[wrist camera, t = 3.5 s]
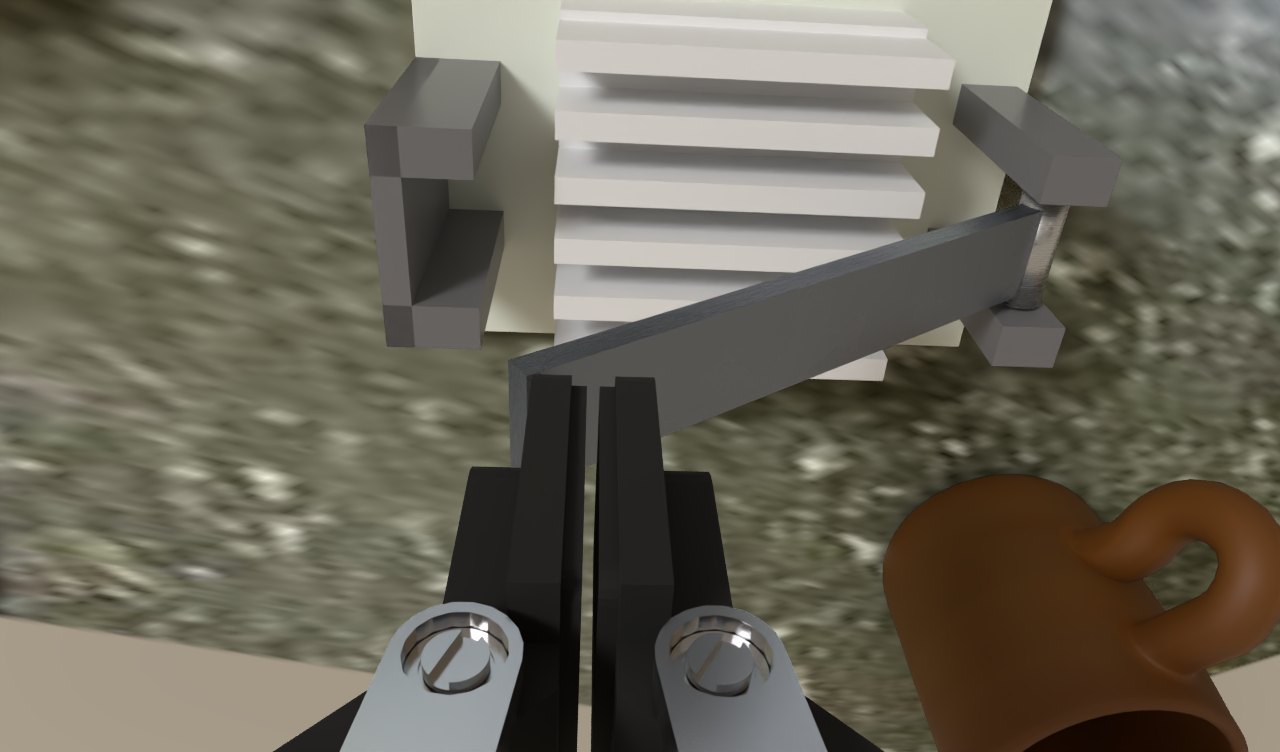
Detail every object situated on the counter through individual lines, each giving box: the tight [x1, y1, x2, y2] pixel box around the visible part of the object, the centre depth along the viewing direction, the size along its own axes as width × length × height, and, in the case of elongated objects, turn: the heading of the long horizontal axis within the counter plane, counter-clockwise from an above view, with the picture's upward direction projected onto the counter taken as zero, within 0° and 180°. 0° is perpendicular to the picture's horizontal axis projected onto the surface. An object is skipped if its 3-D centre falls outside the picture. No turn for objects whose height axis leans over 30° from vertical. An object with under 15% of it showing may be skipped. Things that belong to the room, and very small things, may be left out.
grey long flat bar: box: [508, 189, 1070, 468], centre depth 17 cm, size 14×3×1 cm
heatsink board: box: [364, 0, 1123, 381], centre depth 22 cm, size 15×10×6 cm, turn 87°
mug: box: [883, 474, 1280, 752], centre depth 27 cm, size 12×8×9 cm, turn 160°
